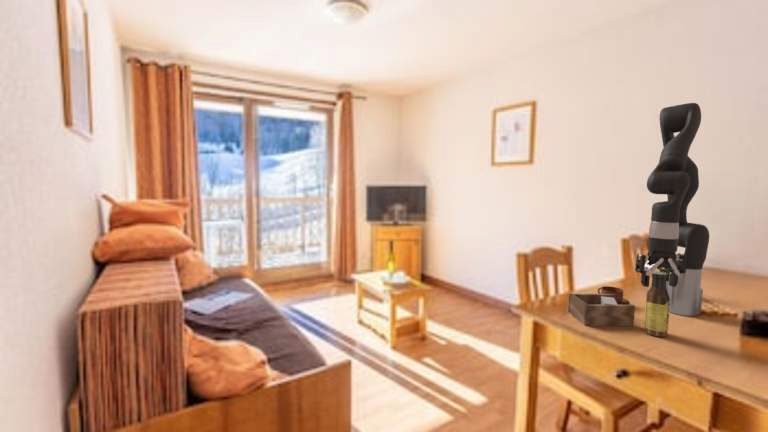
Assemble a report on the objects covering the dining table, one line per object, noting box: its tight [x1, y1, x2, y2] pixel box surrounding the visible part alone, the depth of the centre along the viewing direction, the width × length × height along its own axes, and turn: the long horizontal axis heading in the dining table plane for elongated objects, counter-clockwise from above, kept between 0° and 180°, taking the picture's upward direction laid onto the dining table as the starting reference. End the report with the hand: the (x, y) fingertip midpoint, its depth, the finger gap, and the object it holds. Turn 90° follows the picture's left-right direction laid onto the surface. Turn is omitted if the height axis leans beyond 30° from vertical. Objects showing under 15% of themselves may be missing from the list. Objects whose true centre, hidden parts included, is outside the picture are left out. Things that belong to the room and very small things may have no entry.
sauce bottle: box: [643, 271, 670, 338], centre depth 122 cm, size 7×6×20 cm
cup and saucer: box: [597, 285, 630, 305], centre depth 150 cm, size 12×12×6 cm
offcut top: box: [601, 296, 618, 305], centre depth 135 cm, size 4×8×4 cm, turn 158°
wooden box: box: [567, 293, 636, 327], centre depth 135 cm, size 16×12×7 cm
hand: (658, 286), depth 122 cm, fingers open, 8 cm apart
